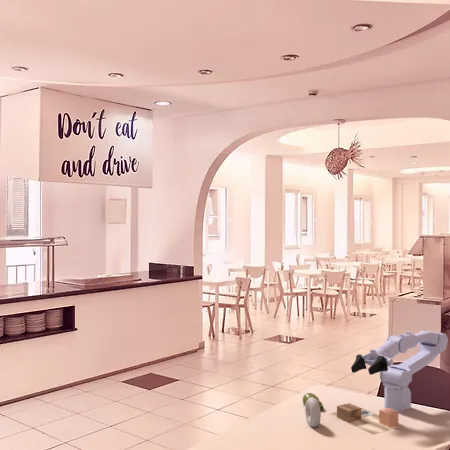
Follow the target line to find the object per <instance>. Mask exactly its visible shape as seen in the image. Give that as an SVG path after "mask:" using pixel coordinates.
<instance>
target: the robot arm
mask: <svg viewBox="0 0 450 450" xmlns="http://www.w3.org/2000/svg"><path fill="white" fill-rule="evenodd" d="M448 343H449V339H448V335H447V333H444V332H437V331H430V330H426V329H422V330H420V331H419V332H417V333H413V332H411V331H405V333H399V334H398V335H394V334H393V335H388V336H387V337H386V340H385V341H384V342H383V344H382V345H380V346H379V347H377V348H376V349H370V350H369V351H370V352H369V353H366V354H364V355H362V354H358V353H357V354H356V356H355V361H354V362H353V364H352V365H351V367H350V369H351V373H353V374H355V373H357V372H359V371H361V370H366V369H367V365H368V366H369V367H368V369H367V370H368V373H369V375H375V374H377V373H378V374H379V379H380V381H381V383H382V385H383V386H384V409H385V408H390V409H393V410H396V411H398V413H399V412H404V411H406V410H408V409H409V410H410V409H411V408H412V407H411V406H412V392H411V389H410V388H409V384H410V383H411V382H412V381H413V375H414V374H415V373H417V372H419V371H420V370H422V369H423V368H425V367H426V366H428V365H429V364H431V363H432V362H434V361H435V359H436V358H437V357H438V356H439V355H440V354H441V353H442V352H444V351H446V350H447V346H448ZM417 345H418V346H417ZM416 347H417V351H419V352H417V353H416V354H414V355H412V356H411V357H409V358H408V359H406V360H405V361H403V362H400V363H399V364H394V360H393V358H394V357H395V356H397V355H398V354H399V353H400V354H406V353H407V351H408V350H409V349H412V348H416Z"/></svg>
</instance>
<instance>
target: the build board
mask: <svg viewBox="0 0 450 450" xmlns="http://www.w3.org/2000/svg"><path fill="white" fill-rule="evenodd" d="M360 408H361V419H360V420H357V421H353V422H347V421H344V420H342V419H340V418H338V417H337V411H335V412H332V413H331V412H330V413H328V415H329V416H332V417H334V418H336V419H338V420H341V421H342V422H345V423H347V424H349V425H352V426H353V427H356V428H358V429H360V430H362V431H365V432H367V433H369V434H371V435H377V434H381V433H384V432H387V431H391V430H395V429H398V428H401V427H405V425H404V424H402V423H400V422H398V425H395V426H392V427H388V426H385V425H383V424H381V423H379V413H375V412H372V411H370V410H368V409H366V408H363V407H360Z"/></svg>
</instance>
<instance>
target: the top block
mask: <svg viewBox="0 0 450 450" xmlns="http://www.w3.org/2000/svg"><path fill="white" fill-rule="evenodd" d="M378 410H379V411H378V412H379V413H378V415H379V423H381V424H383V425H385V426H388V427H392V426H395V425H398V423H399V412H398V411H396V410H393V409H390V408H385V407H384V408H382V409H378Z"/></svg>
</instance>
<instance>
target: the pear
mask: <svg viewBox="0 0 450 450" xmlns="http://www.w3.org/2000/svg"><path fill="white" fill-rule="evenodd" d="M311 397H313V398H315V399H316V400H317V401H318V403H319V406H320V411H323V410H324V405H323V403H322V401H320V399H319V397H318V396H317V395H316V394H315V393H312V392H306V393H305V394H304V395H303V396H302V404H303V405H304V406H305V405H306V401H307V400H308V399H309V398H311Z"/></svg>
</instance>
